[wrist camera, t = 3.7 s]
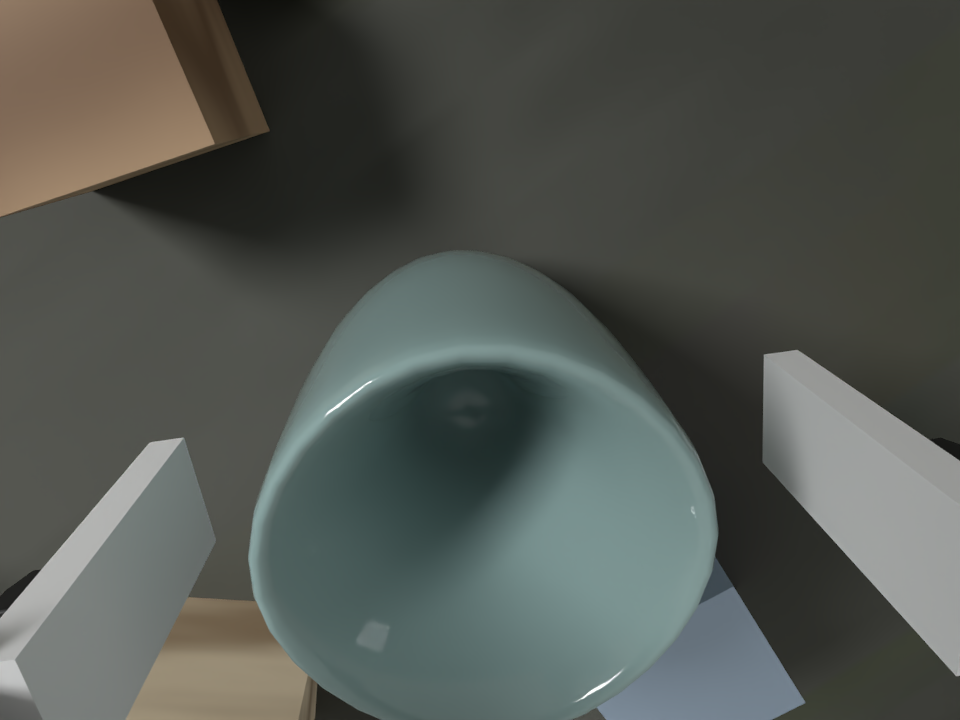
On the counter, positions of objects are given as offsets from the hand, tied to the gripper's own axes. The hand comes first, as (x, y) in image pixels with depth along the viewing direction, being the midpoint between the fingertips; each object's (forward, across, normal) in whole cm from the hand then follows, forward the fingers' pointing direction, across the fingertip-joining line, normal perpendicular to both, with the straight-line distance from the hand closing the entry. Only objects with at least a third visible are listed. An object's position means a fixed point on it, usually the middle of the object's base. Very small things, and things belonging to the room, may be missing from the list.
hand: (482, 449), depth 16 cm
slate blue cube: (+6, +5, -9) cm, 11 cm away
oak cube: (+6, -9, -10) cm, 14 cm away
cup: (+6, 0, 0) cm, 6 cm away
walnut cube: (+5, -7, +9) cm, 13 cm away
